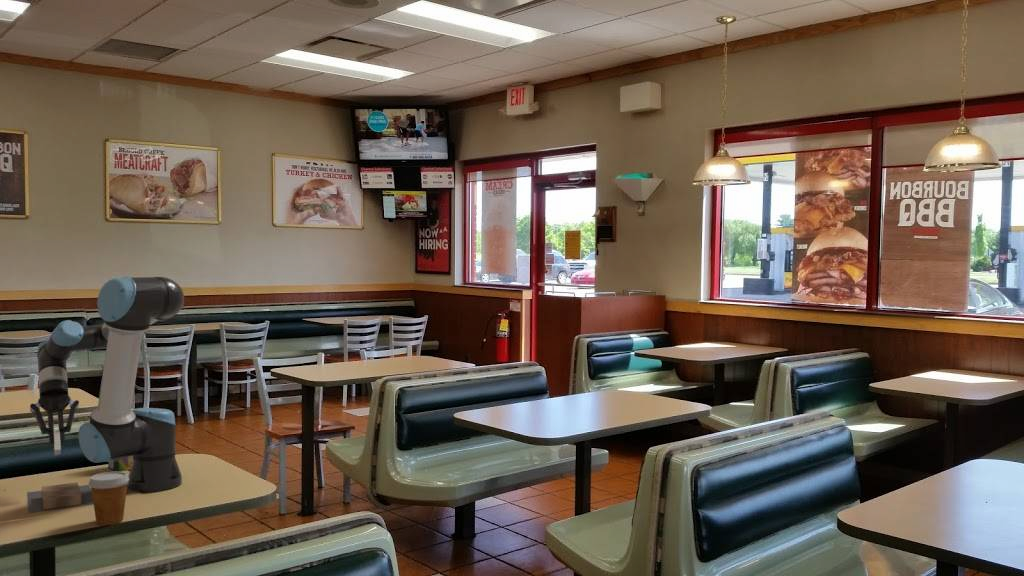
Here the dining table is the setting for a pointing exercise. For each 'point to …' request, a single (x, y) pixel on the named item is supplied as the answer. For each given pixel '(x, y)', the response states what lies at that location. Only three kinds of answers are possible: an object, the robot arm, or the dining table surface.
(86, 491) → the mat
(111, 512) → the disposable coffee cup
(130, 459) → the chalk box
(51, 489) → the menu board
